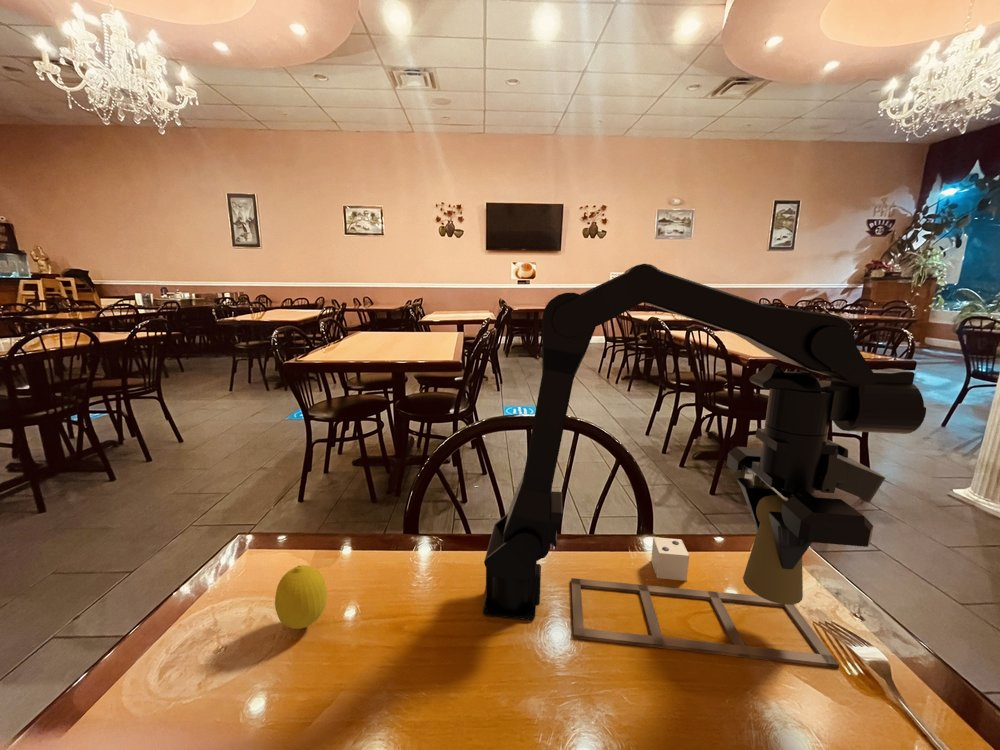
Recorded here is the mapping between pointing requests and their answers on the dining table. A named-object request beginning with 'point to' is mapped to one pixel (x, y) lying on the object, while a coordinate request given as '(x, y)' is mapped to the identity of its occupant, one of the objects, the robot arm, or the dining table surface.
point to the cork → (771, 561)
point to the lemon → (300, 597)
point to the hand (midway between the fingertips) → (776, 555)
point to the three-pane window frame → (659, 641)
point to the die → (670, 559)
